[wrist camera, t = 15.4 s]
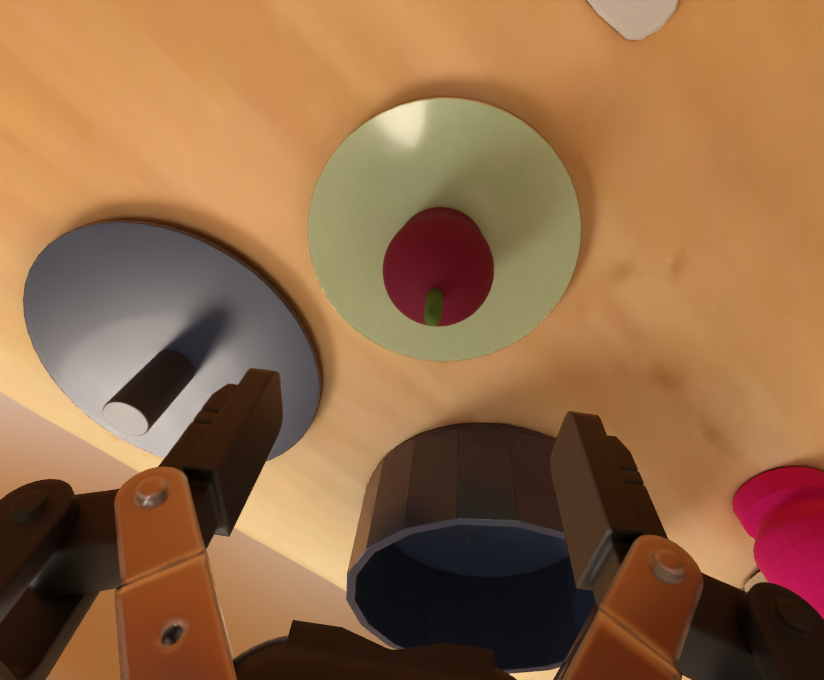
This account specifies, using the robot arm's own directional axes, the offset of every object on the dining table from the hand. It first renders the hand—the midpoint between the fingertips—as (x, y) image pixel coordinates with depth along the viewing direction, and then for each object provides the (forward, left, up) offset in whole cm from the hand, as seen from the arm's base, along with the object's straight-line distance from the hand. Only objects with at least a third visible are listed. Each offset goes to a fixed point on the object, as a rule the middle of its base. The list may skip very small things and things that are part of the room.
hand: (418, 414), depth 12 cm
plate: (0, 0, -13) cm, 13 cm away
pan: (-6, +21, -13) cm, 26 cm away
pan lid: (+16, +10, -13) cm, 23 cm away
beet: (0, 0, -13) cm, 13 cm away
